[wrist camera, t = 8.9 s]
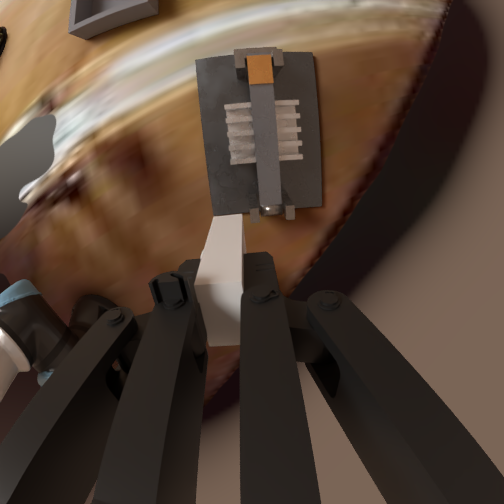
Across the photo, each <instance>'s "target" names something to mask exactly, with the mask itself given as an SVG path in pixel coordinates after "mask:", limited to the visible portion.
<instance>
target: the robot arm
mask: <svg viewBox="0 0 504 504" xmlns="http://www.w3.org/2000/svg"><path fill="white" fill-rule="evenodd" d="M148 284H149V287H150V290H151V293H152V296H153V299H154V302H155V306H154V308H153V311H152V312H149V313H146V314H142V315H138V316H134V314H133V312H132V311H131V310H130V309H129V308H126V307H117V306H116V305H115V304H114V303H112V302H111V301H109V300H108V299H106V298H103V297H101V296H98V295H85V296H82V297H81V298H79V300H78V301H77V302H76V304H75V305H74V307H73V309H72V314H71V315H72V316H71V319H70V322H69V327H67V325H66V324H65V323H64V322H63V321H62V320H61V318H60V317H59V316H58V315H57V314H56V313H55V311H54V310H53V309H52V308H51V307H50V305H49V304H48V303H47V302H46V300H45V299H44V298H43V297H42V294H41V293H40V292H38V290H37V289H36V288H35V287H34V286H33V284H32V283H31V282H30V281H29V280H25V279H23V280H20V281H18V282H16V283H15V284H13V285H12V286H10V287H9V288H8V289H6V290H5V291H4V292H2V294H0V402H1V400H2V398H3V397H4V395H5V393H6V391H7V390H8V388H9V386H10V384H11V383H12V381H13V379H14V378H15V376H16V375H17V373H18V372H19V371H29V370H30V368H31V367H32V366H33V367H34V368H35V369H36V370H37V371H38V372H39V374H38V383H39V385H41V388H40V390H39V391H38V392H37V394H36V395H35V396H34V398H33V399H32V400H31V402H30V403H29V405H28V406H27V407H26V409H25V410H24V411H23V413H22V414H21V415H20V417H19V418H18V420H17V421H16V423H15V424H14V425H13V427H12V428H11V430H10V431H9V433H8V434H7V436H6V437H5V439H4V440H3V442H2V443H1V445H0V504H84V503H85V501H86V499H87V497H88V495H89V493H90V491H91V489H92V488H93V486H94V484H95V482H96V480H97V483H96V488H95V492H94V497H93V500H92V503H91V504H196V503H195V502H196V486H197V472H198V458H199V446H200V434H201V423H202V412H203V401H204V391H205V382H206V373H207V363H208V352H207V349H206V340H207V339H208V343H209V346H226V345H240V491H241V493H240V494H241V504H321V500H320V493H319V487H318V481H317V474H316V469H315V462H314V456H313V451H312V445H311V439H310V433H309V428H308V422H307V417H306V412H305V405H304V400H303V395H302V389H301V384H300V379H299V373H298V368H297V363H296V361H298V362H305V365H306V367H307V369H308V371H309V372H310V374H311V376H312V378H313V379H314V381H315V383H316V384H317V386H318V388H319V389H320V391H321V393H322V395H323V397H324V398H325V400H326V402H327V403H328V405H329V407H330V409H331V410H332V412H333V414H334V415H335V417H336V419H337V420H338V422H339V423H340V426H341V427H342V429H343V431H344V432H345V434H346V436H347V437H348V439H349V441H350V442H351V444H352V446H353V448H354V449H355V451H356V453H357V454H358V456H359V458H360V459H361V461H362V463H363V464H364V466H365V468H366V469H367V471H368V473H369V474H370V476H371V478H372V479H373V481H374V482H375V484H376V485H377V487H378V489H379V491H380V493H381V494H382V496H383V497H384V499H385V501H386V502H387V504H504V477H503V475H502V474H501V473H500V471H499V470H498V469H497V467H496V466H495V465H494V463H493V462H492V461H491V459H490V458H489V457H488V456H487V454H486V453H485V452H484V450H483V449H482V448H481V447H480V445H479V444H478V443H477V442H476V440H475V439H474V438H473V437H472V435H470V433H469V432H468V431H467V429H466V428H465V427H464V426H463V425H462V423H461V422H460V421H459V420H458V418H457V417H456V416H455V415H454V414H453V412H452V411H451V410H450V409H449V408H448V407H447V405H446V404H445V403H444V402H443V401H442V399H441V398H440V397H439V396H438V395H437V394H436V393H435V391H434V390H433V389H432V388H431V387H430V386H429V385H428V384H427V382H426V381H425V380H424V379H423V378H422V377H421V375H420V374H419V373H418V372H417V371H416V370H415V369H414V368H413V367H412V365H411V364H410V363H409V362H408V361H407V360H406V359H405V358H404V357H403V356H402V354H401V353H400V352H399V351H398V350H397V349H396V348H395V347H394V346H393V345H392V344H391V342H390V341H389V340H388V339H387V338H386V337H385V336H384V335H383V334H382V333H381V332H380V331H379V330H378V329H377V328H376V326H375V325H374V324H373V323H372V322H370V320H369V319H368V318H367V317H366V316H365V315H364V314H363V313H362V312H361V311H360V310H359V309H358V308H357V307H356V306H355V305H354V304H353V303H352V302H351V300H349V298H348V297H346V296H345V295H344V294H342V293H340V292H337V291H331V290H324V291H318V292H316V293H314V294H312V295H311V296H310V297H309V298H308V301H307V302H301V301H295V300H291V299H289V298H287V297H285V296H283V294H282V293H281V291H280V290H279V286H278V281H277V276H276V271H275V266H274V262H273V257H272V256H271V255H270V254H269V253H268V252H257V253H247V254H246V245H245V236H244V227H243V218H242V214H235V215H225V216H216V217H214V218H213V221H212V224H211V227H210V231H209V234H208V237H207V241H206V244H205V248H204V251H203V255H202V258H201V259H192V260H186V261H185V262H184V263H182V264H181V265H180V266H179V269H178V271H171V272H166V273H163V274H160V275H157V276H156V277H154V278H153V279H152V280H151V281H150V282H149V283H148ZM115 360H116V361H117V362H118V364H119V365H118V367H117V368H116V369H113V367H112V366H111V365H112V364H113V363H114V361H115ZM97 478H98V479H97Z"/></svg>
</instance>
